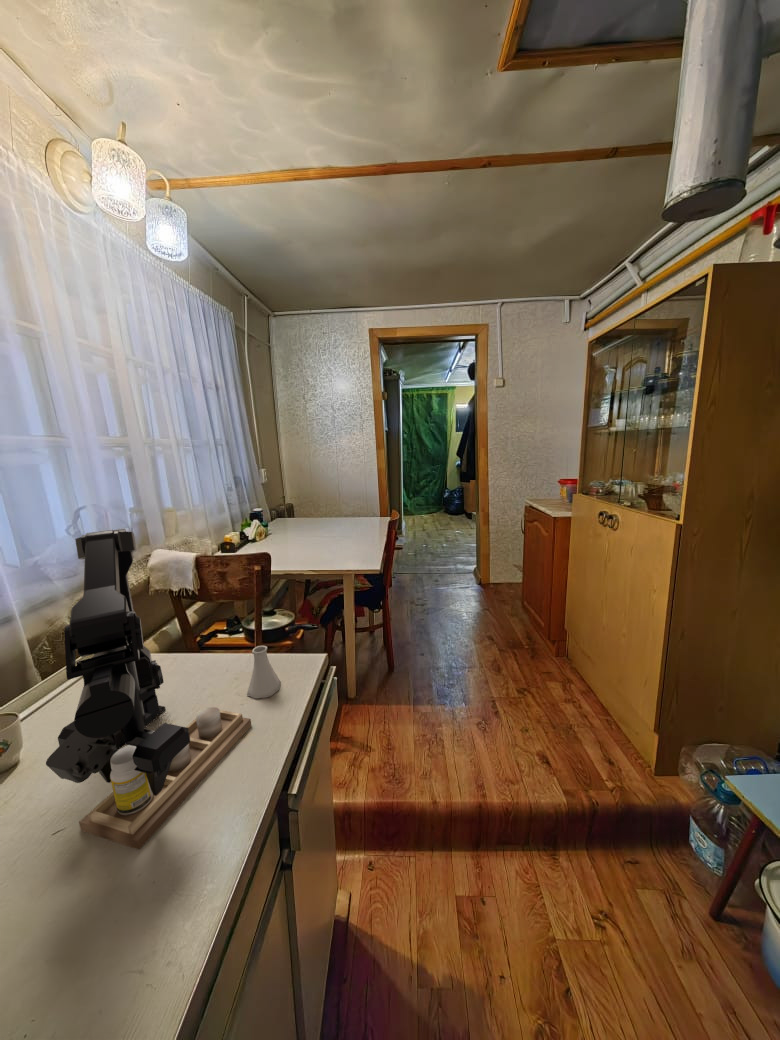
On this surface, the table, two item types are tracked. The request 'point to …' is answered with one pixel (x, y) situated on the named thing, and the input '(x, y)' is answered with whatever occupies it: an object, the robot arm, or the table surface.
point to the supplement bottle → (129, 783)
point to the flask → (262, 675)
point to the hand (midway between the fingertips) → (134, 786)
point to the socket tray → (171, 780)
